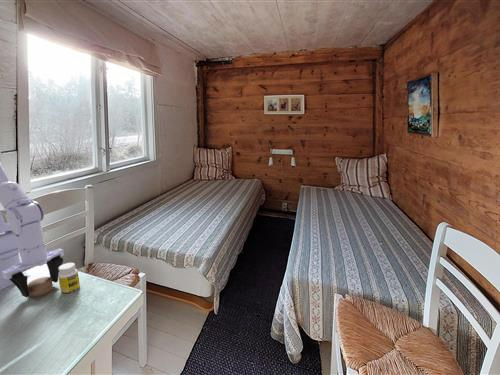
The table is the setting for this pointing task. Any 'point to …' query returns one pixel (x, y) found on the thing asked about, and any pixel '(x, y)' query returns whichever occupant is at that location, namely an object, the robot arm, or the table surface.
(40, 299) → the mat
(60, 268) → the supplement bottle
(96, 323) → the table surface
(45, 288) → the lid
